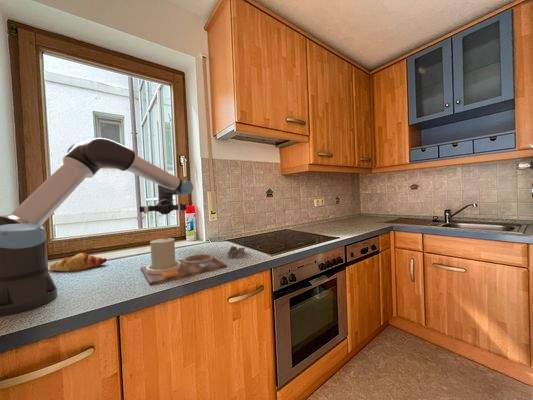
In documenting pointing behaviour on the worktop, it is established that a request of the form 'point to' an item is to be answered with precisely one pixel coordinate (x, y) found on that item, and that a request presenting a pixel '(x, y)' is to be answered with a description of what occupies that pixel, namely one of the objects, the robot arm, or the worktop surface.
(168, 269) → the ring
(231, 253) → the egg carton
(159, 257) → the can
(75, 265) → the croissant
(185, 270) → the walnut board
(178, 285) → the worktop surface
